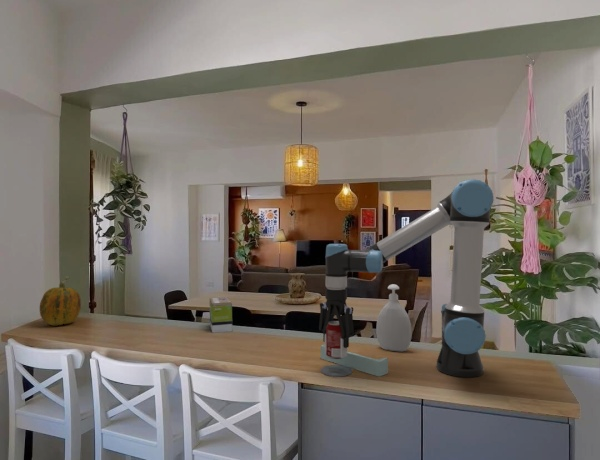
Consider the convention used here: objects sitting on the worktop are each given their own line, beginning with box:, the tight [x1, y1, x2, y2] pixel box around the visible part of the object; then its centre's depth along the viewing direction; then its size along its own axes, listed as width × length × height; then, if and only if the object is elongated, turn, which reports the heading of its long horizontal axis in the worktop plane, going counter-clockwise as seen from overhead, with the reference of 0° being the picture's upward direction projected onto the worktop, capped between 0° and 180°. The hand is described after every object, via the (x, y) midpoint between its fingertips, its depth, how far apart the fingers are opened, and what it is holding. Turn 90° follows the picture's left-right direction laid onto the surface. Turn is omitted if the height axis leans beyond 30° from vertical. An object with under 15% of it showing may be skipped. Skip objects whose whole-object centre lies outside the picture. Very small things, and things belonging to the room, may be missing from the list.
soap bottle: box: [375, 283, 413, 353], centre depth 167 cm, size 14×8×27 cm, turn 62°
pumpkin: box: [39, 275, 82, 327], centre depth 214 cm, size 19×19×25 cm
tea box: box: [209, 296, 233, 334], centre depth 204 cm, size 15×10×15 cm
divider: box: [320, 344, 389, 378], centre depth 147 cm, size 27×5×5 cm, turn 43°
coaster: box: [320, 364, 353, 378], centre depth 141 cm, size 11×11×1 cm
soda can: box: [326, 320, 342, 359], centre depth 141 cm, size 7×7×12 cm
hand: (335, 354), depth 141 cm, fingers closed on soda can, 7 cm apart
